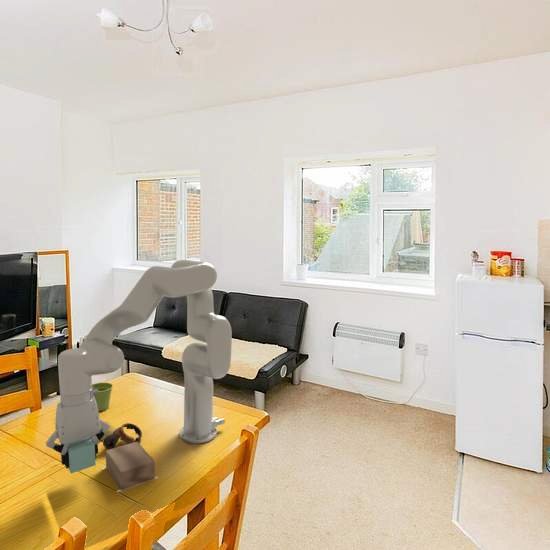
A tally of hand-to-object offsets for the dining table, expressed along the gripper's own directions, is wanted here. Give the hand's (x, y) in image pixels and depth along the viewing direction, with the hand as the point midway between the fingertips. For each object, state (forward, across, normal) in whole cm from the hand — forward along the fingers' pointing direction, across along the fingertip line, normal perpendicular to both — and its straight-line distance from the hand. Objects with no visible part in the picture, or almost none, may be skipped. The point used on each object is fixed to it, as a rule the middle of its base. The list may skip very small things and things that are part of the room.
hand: (80, 460), depth 109 cm
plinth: (+6, -12, +3) cm, 14 cm away
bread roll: (+8, -12, -26) cm, 30 cm away
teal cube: (+1, 0, 0) cm, 1 cm away
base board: (+8, -12, +3) cm, 14 cm away
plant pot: (+9, -18, -47) cm, 51 cm away
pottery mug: (+8, -15, -13) cm, 22 cm away
